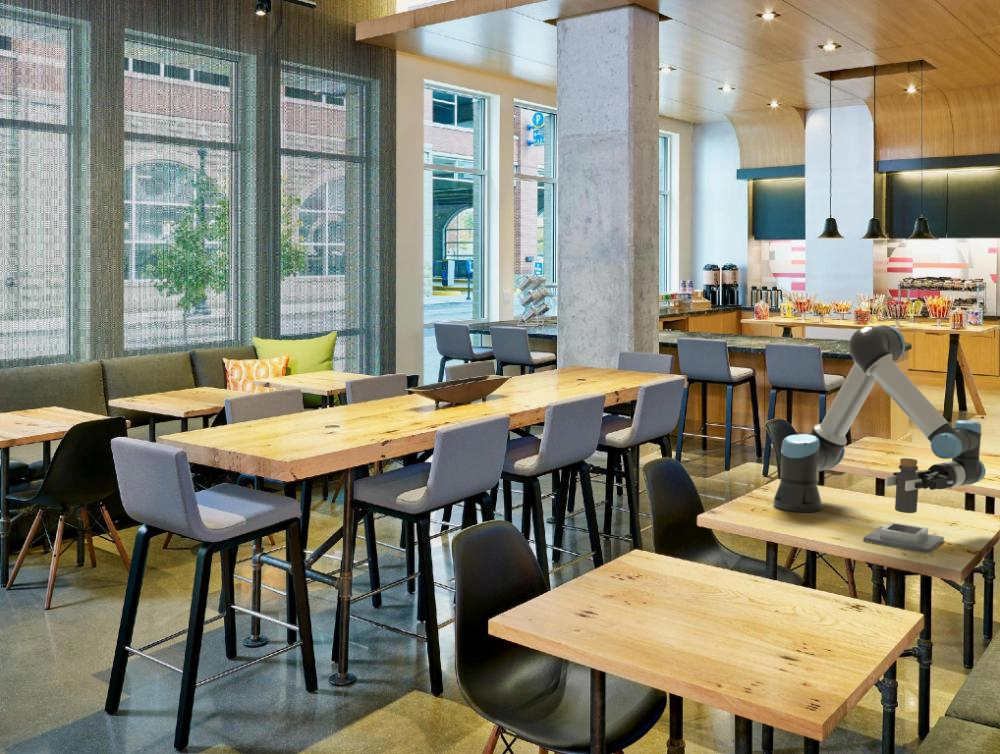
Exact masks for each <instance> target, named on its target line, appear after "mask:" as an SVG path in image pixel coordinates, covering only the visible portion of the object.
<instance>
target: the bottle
mask: <svg viewBox="0 0 1000 754" xmlns="http://www.w3.org/2000/svg"><path fill="white" fill-rule="evenodd" d="M918 462H919V461H918V459H914V458H905V457H904V458H903V457H902V458H900V459H899V463H900V464H899V465H898V470H899V469H900V471H898V472H899V473H898V474H897V483H896V485H895V502H894V509H895V511H896V512H899V513H903V514H904V513H905V514H916V513H917V512H918V511H917V510H918V499H919V489H916V490H911V491H905V481H910V480H916V479H919V476H918V475H917V474H916V472H917V471H918V470H919V466H917V464H918Z"/></svg>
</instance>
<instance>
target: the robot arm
mask: <svg viewBox="0 0 1000 754" xmlns="http://www.w3.org/2000/svg"><path fill="white" fill-rule="evenodd" d="M851 335H852V336H851V337H850V339H849V343H848V344H849V345H848V349H849V354H850V355H851V358H852V361H853V362H854V363H853V365H852V366H851V369H850V371H849V372H848V374H847V376H846V378H845V379H844V381H843V383H842V385H841V387H840V389H839V390H838V392H837V394H836V396H835V398H834V399H833V401H832V403H831V405H830V407H829V408H828V410H827V412H826V413H825V416H824V418H823V420H822V422H821V423H817V424H814V426H813V427H812V430H811V431H810V432H809V434H807V433H805V434H803V433H799V434H791V435H788V436H786V437H785V438H783V440H782V442H781V447H780V449H781V450H780V452H781V455H780V456H781V457H780V481H779V484H778V487H777V490H776V493H775V495H774V497H773V507H775V508H777V509H779V510H783V511H788V512H795V513H814V512H819V511H821V510H822V504H823V503H822V498H821V495H820V491H819V487H818V477H819V475H818V474H819V472H822V471H826V470H830V469H834V468H835V467H836V466H837V465H839V464H840V463H841V462H842V461H843V459H844V456H845V451H846V450H845V446H846V445H847V442H848V440H847V436H846V435H847V433H848V432H849V430H850V428H851V426H852V425H853V423H854V421H855V419H856V417H857V416H858V414H859V412H860V410H861V409H862V407H863V405H864V403H865V401H866V400H867V398H868V396H869V394H870V393H871V391H872V389H873V387H874V385H875V384H876V382H877V383H878V385H879V386H880V387H881V388H882V389H883V391H885V392H886V394H888V396H889V397H890V398H891V399H892V400H893V401H894V403H895V404H896V405H897V406H898V407H899V408H900V409H901V410H902V412H903V413H904V414H905V415H906V416H907V417H908V419H909V420H910V421H911V422H912V423H913V424H914V426H916V428H917V429H918V430H919V431H920V432H921V433H922V434H923V435H924V436H925V438H926V439H927V440H928V441H929V443H930V449H931V452H932V453H933V455H935V456H936V457H937V458H939V459H943V460H948V459H951V461H945V462H941V463H934V464H932V465H930V467H929V468H928V469H925V470H919V471H918V470H917V471H916V474H917V475H918V476H919V479H916V480H910V481H905V491H911V490H916V489H918V490H921V489H924V490H927V489H929V490H930V491H934V490H944V489H949V490H950V489H953V488H955V487H960V486H966V485H967V486H968V485H973V484H975V483H979V482H981V481H982V480H983V479H984V478H985V475H986V467H985V465H984V463H983V461H981V460H980V452H981V438H982V424H981V423H980V422H978V421H976V420H969V419H968V420H966V419H958V420H956V421H954V423H953V426H952V425H951V424H950V423H949V421H947V419H946V418H945V417H944V416H943V415H942V414H941V412H940V411H939V410H938V408H936V407H935V406H934V404H933V403H931V401H930V400H929V399H928V398H927V397H926V396H925V395H924V394H923V393H922V391H921V390H920V389H919V388H918V387H917V386H916V385H915V383H913V382H912V380H911V379H910V377H908V375H906V374H905V373H904V371H903V370H902V369H901V368H900V367H899V366H898V365H897V363H896V361H897V360H899V358H901V357H902V355H903V354H904V353H905V350H906V340H905V338H904V335H903V333H902V332H901V331H900V330H899V329H898V328H896V327H894V326H891V325H885V324H880V325H876V326H864V327H861V328H859V329H858V330H856V331H855V332H854V333H853V334H851ZM899 472H900V471H896V472H893V473H892V475H888V476H885V477H884V478H885V479H884V486H885V487H892V486H893V487H894V486H896V483H897V474H898V473H899Z"/></svg>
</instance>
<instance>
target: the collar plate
mask: <svg viewBox="0 0 1000 754" xmlns="http://www.w3.org/2000/svg"><path fill="white" fill-rule="evenodd" d="M864 541H868V542H867V543H870V542H872V543H871V544H875V543H877V545H881V544H883V545H882V546H886V545H887V547H893V548H897V547H898V548H899V549H904V550H907V551H908V550H909V551H913V552H920V553H924V554H930V553H931V552H932V551H933V550H935V549H936V548H937V547H938V546H940V543H941V544H942V543H943V542H944V541H945V536H939V535H935V534H929V528H928V527H923V526H918V525H917V526H916V525H912V524H911V525H910V524H906V523H905V524H903V523H899V522H893V521H891V522H889V523H888V524H886V525H884V526H881V525H880V526H878V527H877V528H876V529H873V531H871V532H869V533H868V534H866V535H865V536H863V540H862V542H864Z"/></svg>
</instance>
